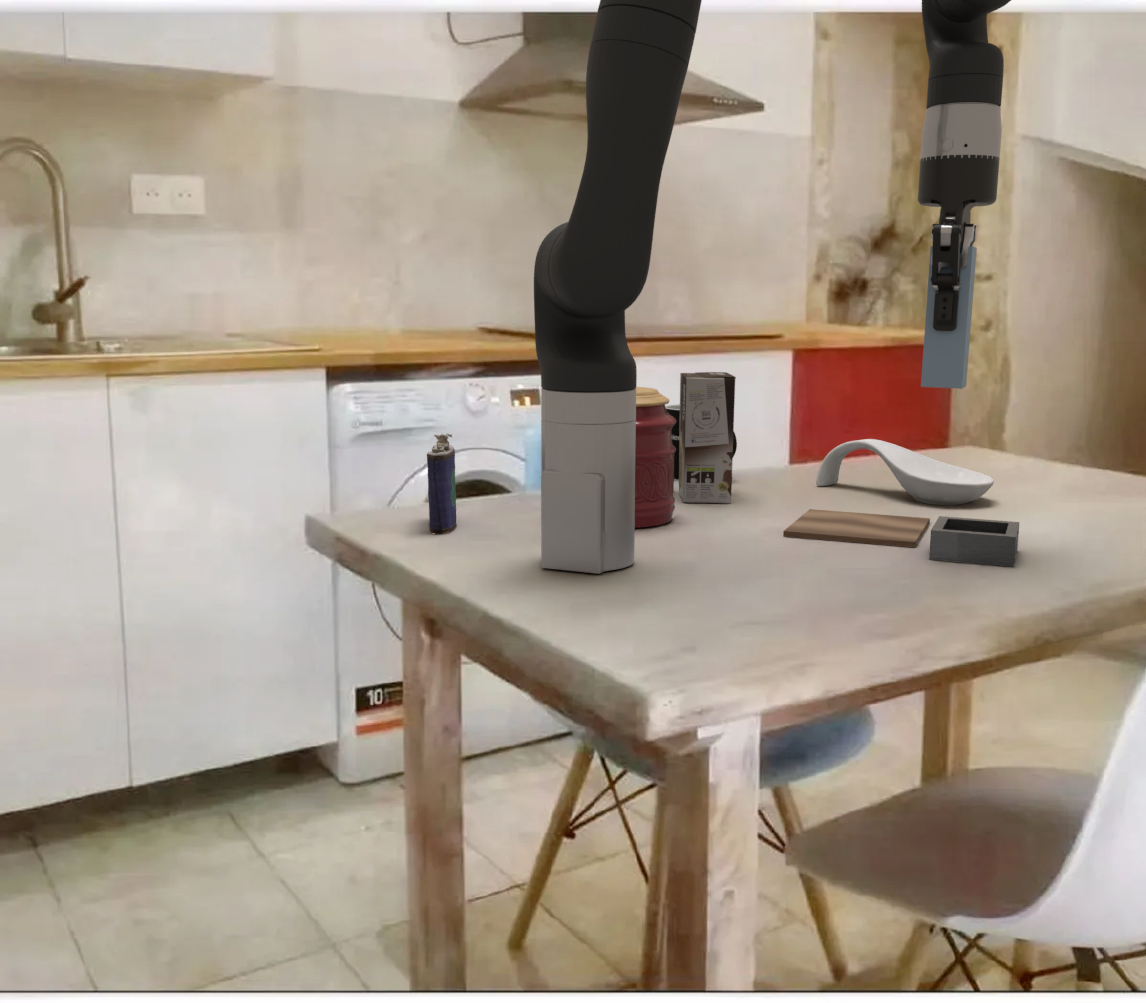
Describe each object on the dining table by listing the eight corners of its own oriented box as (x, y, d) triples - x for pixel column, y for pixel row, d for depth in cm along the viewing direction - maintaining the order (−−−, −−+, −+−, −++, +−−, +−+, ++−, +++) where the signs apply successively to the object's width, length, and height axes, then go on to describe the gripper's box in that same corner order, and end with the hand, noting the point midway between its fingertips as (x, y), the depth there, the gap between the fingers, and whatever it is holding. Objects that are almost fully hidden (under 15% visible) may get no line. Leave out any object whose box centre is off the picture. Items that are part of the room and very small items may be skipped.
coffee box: (733, 503, 147) (736, 376, 144) (682, 503, 147) (684, 375, 144) (725, 491, 156) (728, 370, 153) (677, 491, 156) (679, 370, 153)
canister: (544, 523, 134) (544, 370, 131) (595, 505, 146) (595, 364, 142) (647, 534, 128) (649, 374, 125) (691, 514, 140) (694, 367, 136)
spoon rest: (1007, 502, 150) (1010, 447, 148) (967, 515, 141) (971, 456, 140) (844, 481, 165) (846, 431, 164) (799, 492, 157) (801, 439, 156)
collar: (1013, 566, 114) (1015, 537, 113) (928, 559, 117) (930, 530, 116) (1017, 550, 121) (1019, 522, 120) (937, 543, 124) (939, 516, 123)
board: (914, 547, 122) (915, 542, 122) (783, 536, 127) (783, 531, 127) (929, 523, 135) (930, 518, 135) (809, 514, 140) (809, 509, 140)
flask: (434, 518, 137) (433, 428, 135) (459, 518, 137) (458, 428, 135) (427, 535, 128) (425, 438, 126) (453, 535, 128) (452, 438, 126)
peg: (961, 388, 116) (972, 246, 114) (920, 386, 118) (930, 246, 116) (966, 386, 120) (976, 247, 118) (926, 384, 122) (935, 247, 119)
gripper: (993, 145, 107) (979, 333, 110) (1005, 162, 120) (992, 329, 123) (910, 148, 110) (898, 331, 113) (930, 164, 123) (919, 328, 126)
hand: (947, 329), depth 118 cm, fingers closed on peg, 4 cm apart
